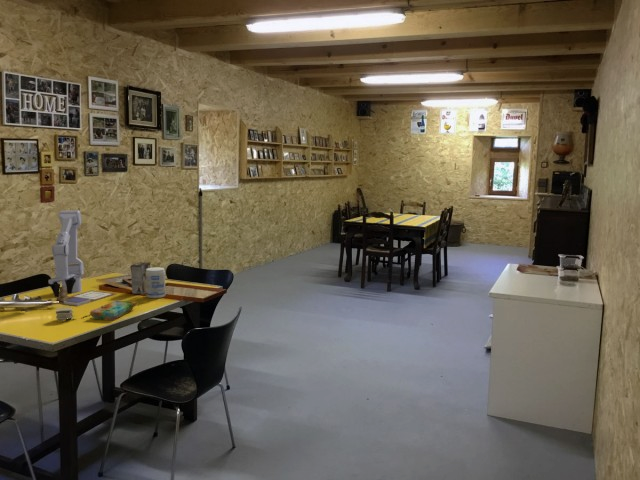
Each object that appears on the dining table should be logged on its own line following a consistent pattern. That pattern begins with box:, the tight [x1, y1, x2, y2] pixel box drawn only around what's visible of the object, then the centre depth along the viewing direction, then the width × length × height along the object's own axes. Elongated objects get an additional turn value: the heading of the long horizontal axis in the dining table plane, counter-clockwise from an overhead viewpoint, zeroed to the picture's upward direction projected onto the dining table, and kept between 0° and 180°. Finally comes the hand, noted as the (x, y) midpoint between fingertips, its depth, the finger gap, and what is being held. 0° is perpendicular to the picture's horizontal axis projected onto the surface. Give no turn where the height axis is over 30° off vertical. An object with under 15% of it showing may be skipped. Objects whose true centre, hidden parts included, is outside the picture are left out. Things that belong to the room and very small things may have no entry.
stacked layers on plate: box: [55, 306, 74, 322], centre depth 240 cm, size 10×9×6 cm
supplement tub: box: [145, 266, 166, 299], centre depth 282 cm, size 10×10×15 cm
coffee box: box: [130, 261, 151, 297], centre depth 288 cm, size 9×6×16 cm
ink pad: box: [64, 298, 92, 307], centre depth 265 cm, size 9×8×2 cm
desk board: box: [55, 290, 117, 308], centre depth 275 cm, size 18×27×1 cm, turn 158°
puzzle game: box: [89, 300, 138, 321], centre depth 250 cm, size 12×5×20 cm
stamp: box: [55, 286, 71, 302], centre depth 268 cm, size 5×4×7 cm
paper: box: [73, 290, 112, 300], centre depth 280 cm, size 14×12×1 cm
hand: (63, 295), depth 268 cm, fingers open, 7 cm apart
